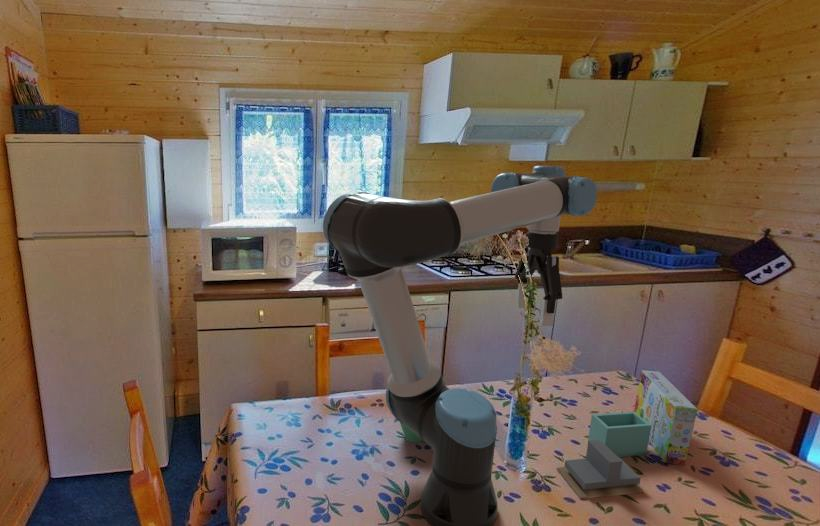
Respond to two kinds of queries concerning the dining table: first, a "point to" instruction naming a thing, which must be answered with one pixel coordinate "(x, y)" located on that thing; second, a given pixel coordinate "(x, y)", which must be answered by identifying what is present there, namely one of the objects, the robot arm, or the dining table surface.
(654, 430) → the snack box
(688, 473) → the dining table surface
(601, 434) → the tub
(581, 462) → the lid
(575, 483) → the plate
